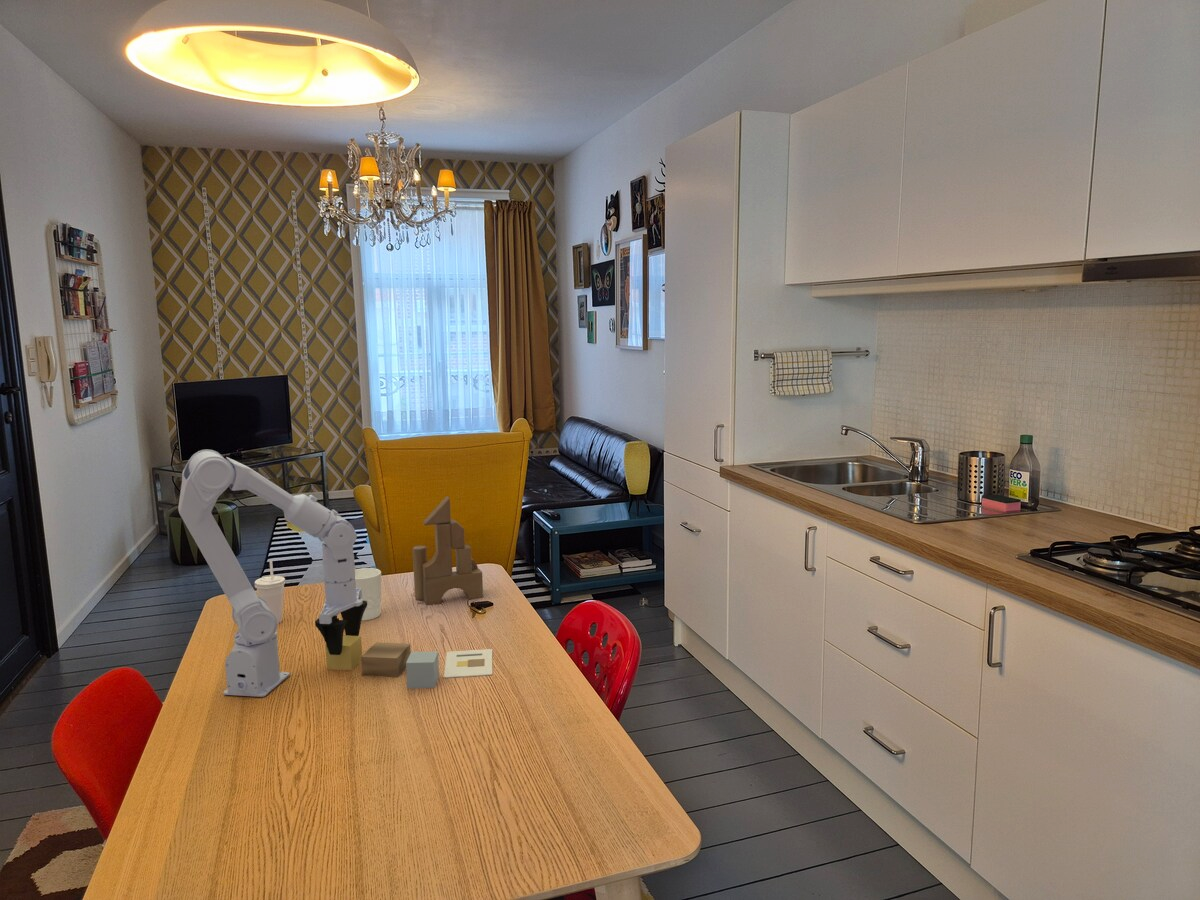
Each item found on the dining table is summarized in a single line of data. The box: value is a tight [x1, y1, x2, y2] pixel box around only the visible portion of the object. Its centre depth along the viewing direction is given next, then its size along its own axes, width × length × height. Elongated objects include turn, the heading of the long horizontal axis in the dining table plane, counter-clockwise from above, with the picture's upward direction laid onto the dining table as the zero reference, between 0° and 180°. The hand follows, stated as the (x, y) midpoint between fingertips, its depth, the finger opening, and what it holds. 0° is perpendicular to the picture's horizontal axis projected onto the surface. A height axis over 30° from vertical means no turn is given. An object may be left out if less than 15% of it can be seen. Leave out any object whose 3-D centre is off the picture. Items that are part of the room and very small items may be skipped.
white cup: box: [355, 567, 382, 622], centre depth 186 cm, size 8×8×10 cm
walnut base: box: [360, 641, 412, 678], centre depth 158 cm, size 7×7×4 cm
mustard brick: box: [325, 634, 363, 671], centre depth 160 cm, size 5×5×5 cm
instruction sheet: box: [443, 648, 493, 679], centre depth 160 cm, size 12×9×1 cm
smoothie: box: [254, 560, 286, 624], centre depth 182 cm, size 6×6×14 cm
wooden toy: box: [412, 495, 484, 606], centre depth 196 cm, size 16×7×25 cm, turn 111°
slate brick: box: [405, 650, 440, 690], centre depth 151 cm, size 5×5×5 cm
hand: (344, 646), depth 159 cm, fingers open, 7 cm apart
